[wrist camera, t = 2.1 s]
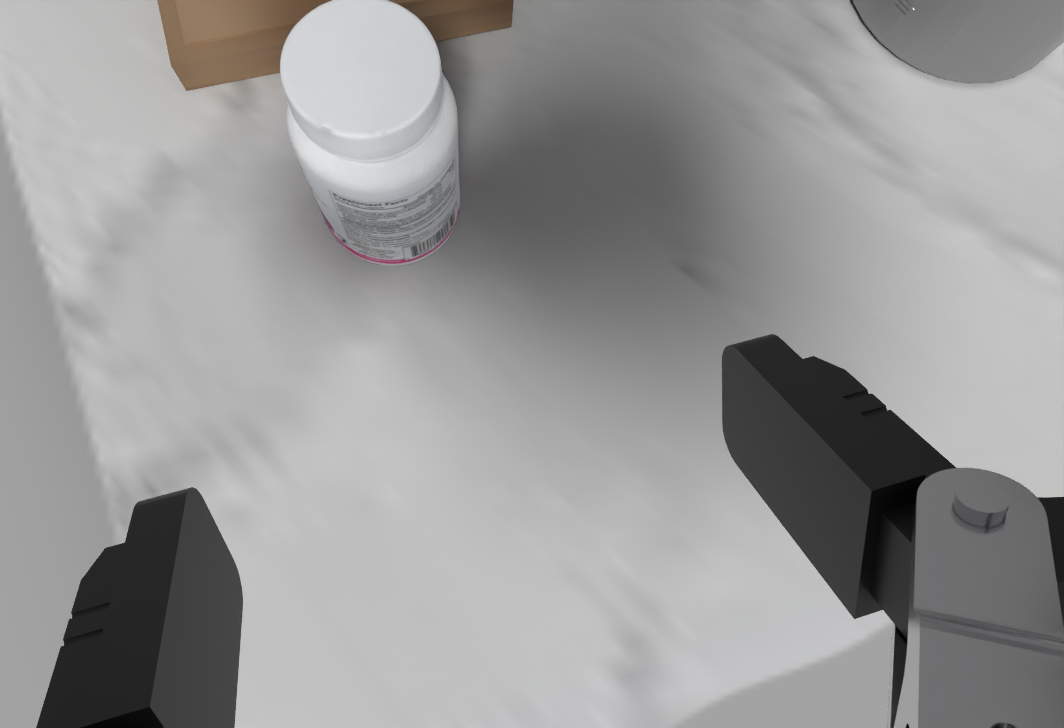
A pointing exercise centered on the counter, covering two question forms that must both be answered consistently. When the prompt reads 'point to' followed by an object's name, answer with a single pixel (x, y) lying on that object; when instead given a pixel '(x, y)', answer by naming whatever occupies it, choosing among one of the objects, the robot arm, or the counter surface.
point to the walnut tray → (285, 32)
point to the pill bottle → (374, 128)
